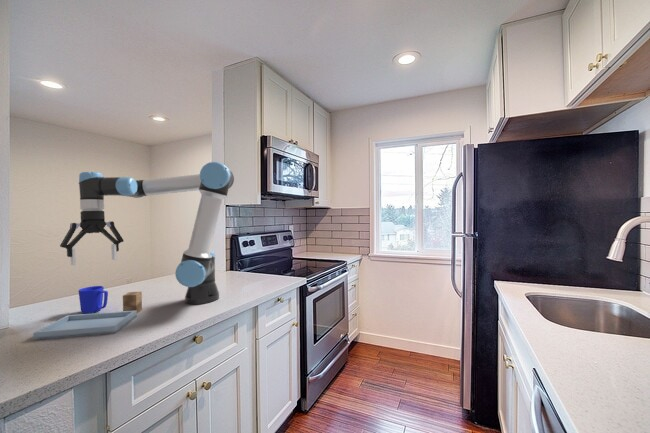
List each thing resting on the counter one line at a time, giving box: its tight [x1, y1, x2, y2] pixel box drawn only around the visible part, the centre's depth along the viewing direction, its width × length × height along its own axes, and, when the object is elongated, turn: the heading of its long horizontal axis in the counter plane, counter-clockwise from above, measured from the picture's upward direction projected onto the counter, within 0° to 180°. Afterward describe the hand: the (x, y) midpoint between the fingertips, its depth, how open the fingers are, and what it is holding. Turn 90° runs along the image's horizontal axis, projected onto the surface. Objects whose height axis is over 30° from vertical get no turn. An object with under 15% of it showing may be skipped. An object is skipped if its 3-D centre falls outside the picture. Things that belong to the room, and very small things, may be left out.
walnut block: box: [122, 291, 143, 314], centre depth 118 cm, size 5×5×8 cm
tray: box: [32, 310, 138, 341], centre depth 102 cm, size 24×16×2 cm, turn 101°
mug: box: [78, 285, 109, 314], centre depth 119 cm, size 8×12×10 cm
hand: (94, 262), depth 114 cm, fingers open, 13 cm apart
